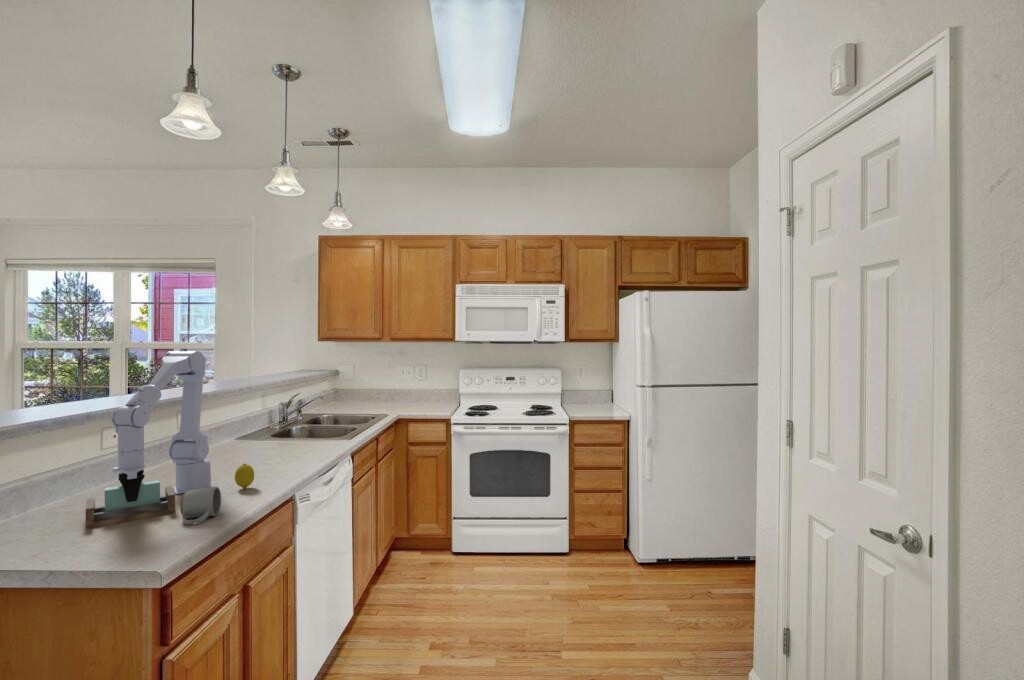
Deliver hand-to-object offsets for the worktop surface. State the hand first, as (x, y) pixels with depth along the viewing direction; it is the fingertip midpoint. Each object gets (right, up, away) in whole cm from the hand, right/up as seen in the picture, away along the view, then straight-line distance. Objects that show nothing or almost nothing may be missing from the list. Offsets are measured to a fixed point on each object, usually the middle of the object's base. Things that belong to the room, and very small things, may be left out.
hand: (131, 499), depth 138 cm
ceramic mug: (+20, -5, -2) cm, 21 cm away
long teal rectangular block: (0, -2, 0) cm, 2 cm away
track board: (0, -4, 0) cm, 4 cm away
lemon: (+18, -4, +23) cm, 30 cm away
